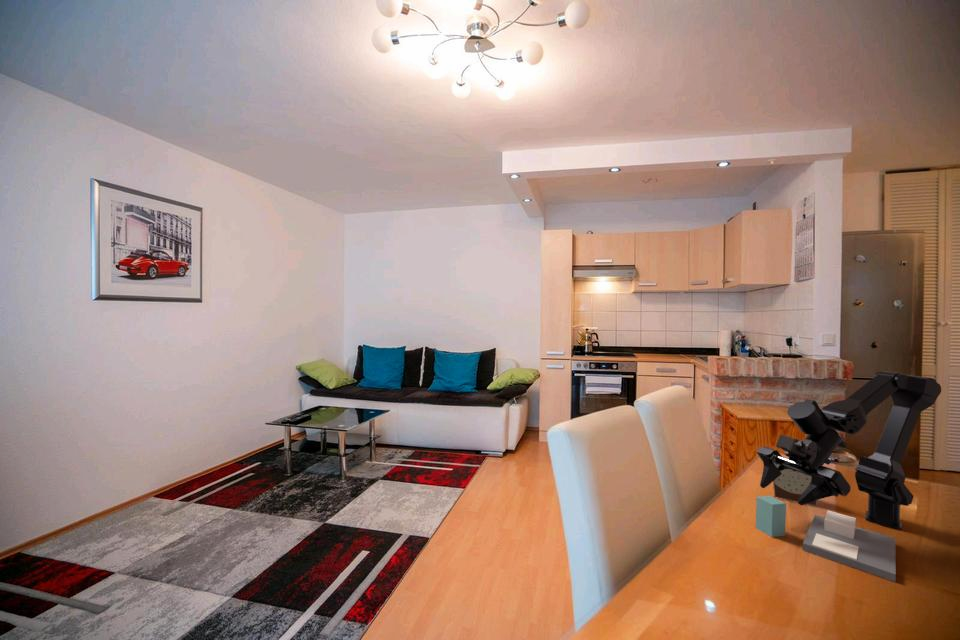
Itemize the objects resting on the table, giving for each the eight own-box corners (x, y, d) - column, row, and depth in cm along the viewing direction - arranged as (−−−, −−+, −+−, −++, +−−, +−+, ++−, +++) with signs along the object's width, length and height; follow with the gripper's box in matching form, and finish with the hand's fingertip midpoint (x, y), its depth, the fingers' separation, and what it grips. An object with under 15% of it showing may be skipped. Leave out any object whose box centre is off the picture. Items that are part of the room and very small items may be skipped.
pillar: (768, 526, 96) (769, 495, 96) (785, 535, 92) (786, 503, 92) (755, 528, 95) (756, 497, 95) (771, 537, 91) (772, 504, 91)
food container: (819, 500, 113) (820, 465, 113) (824, 508, 108) (825, 471, 108) (766, 488, 119) (767, 455, 119) (768, 496, 114) (769, 461, 114)
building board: (814, 520, 100) (815, 504, 100) (894, 544, 90) (895, 527, 90) (802, 549, 86) (803, 531, 86) (895, 582, 76) (896, 561, 76)
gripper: (763, 415, 105) (727, 458, 102) (843, 435, 87) (802, 488, 84) (785, 444, 107) (751, 487, 104) (868, 470, 89) (828, 523, 86)
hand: (779, 495), depth 94 cm, fingers open, 9 cm apart
